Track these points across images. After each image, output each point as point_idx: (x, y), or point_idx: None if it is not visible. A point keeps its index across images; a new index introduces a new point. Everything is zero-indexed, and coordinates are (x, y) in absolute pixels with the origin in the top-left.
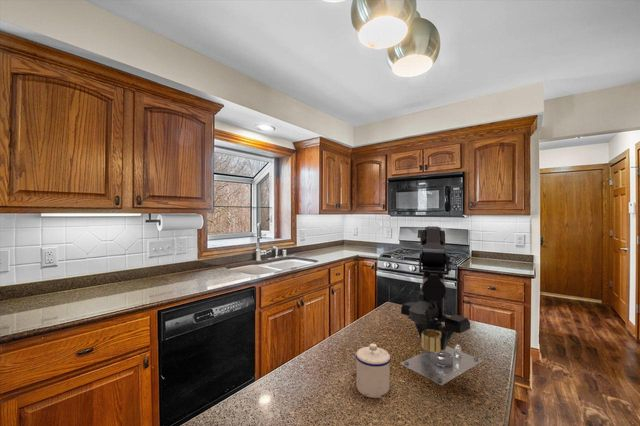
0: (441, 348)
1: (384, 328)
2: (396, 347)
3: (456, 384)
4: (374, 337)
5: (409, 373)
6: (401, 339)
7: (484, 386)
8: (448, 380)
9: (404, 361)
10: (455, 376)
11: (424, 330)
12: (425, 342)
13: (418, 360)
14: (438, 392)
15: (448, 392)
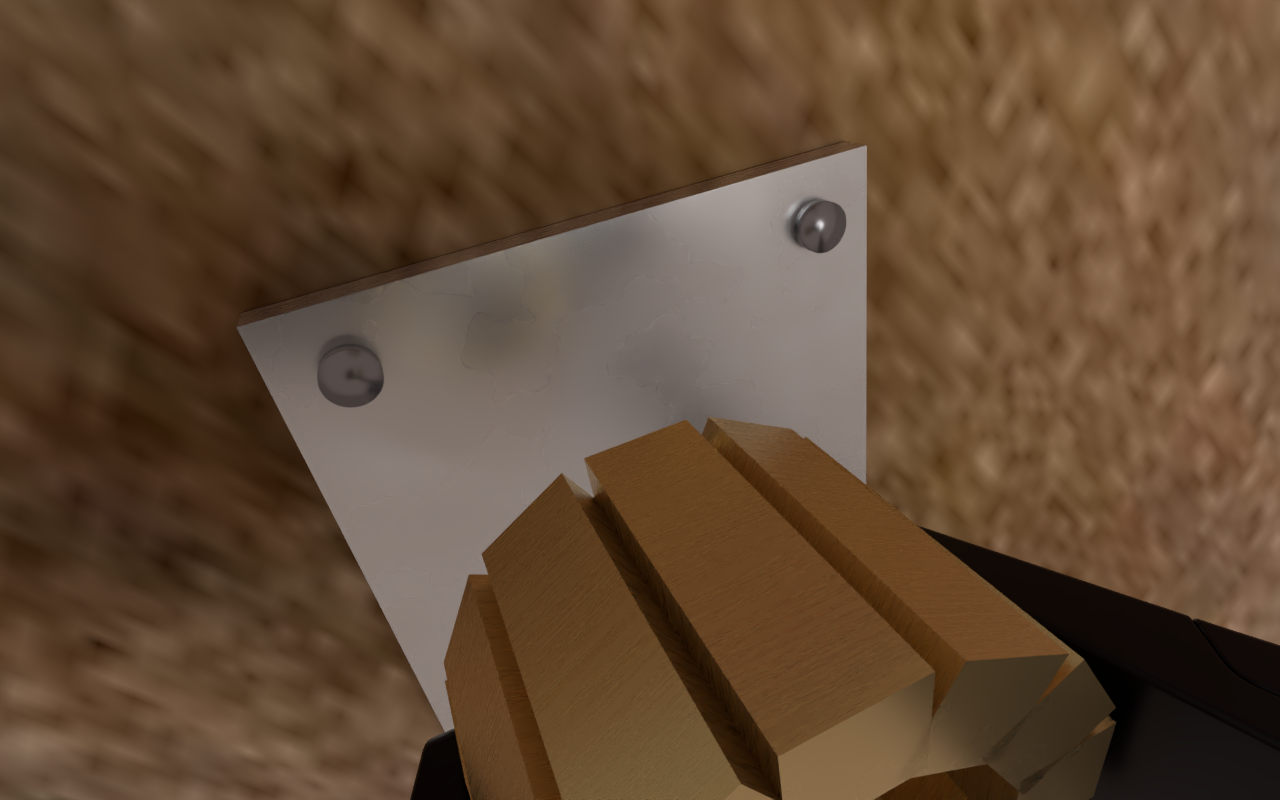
0: (449, 758)
1: (1252, 439)
2: (1056, 356)
3: (284, 534)
4: (1259, 265)
5: (677, 144)
6: (1092, 476)
7: (172, 770)
8: (327, 480)
9: (858, 236)
10: (383, 596)
11: (1080, 771)
12: (752, 529)
13: (795, 403)
14: (152, 204)
15: (124, 340)
